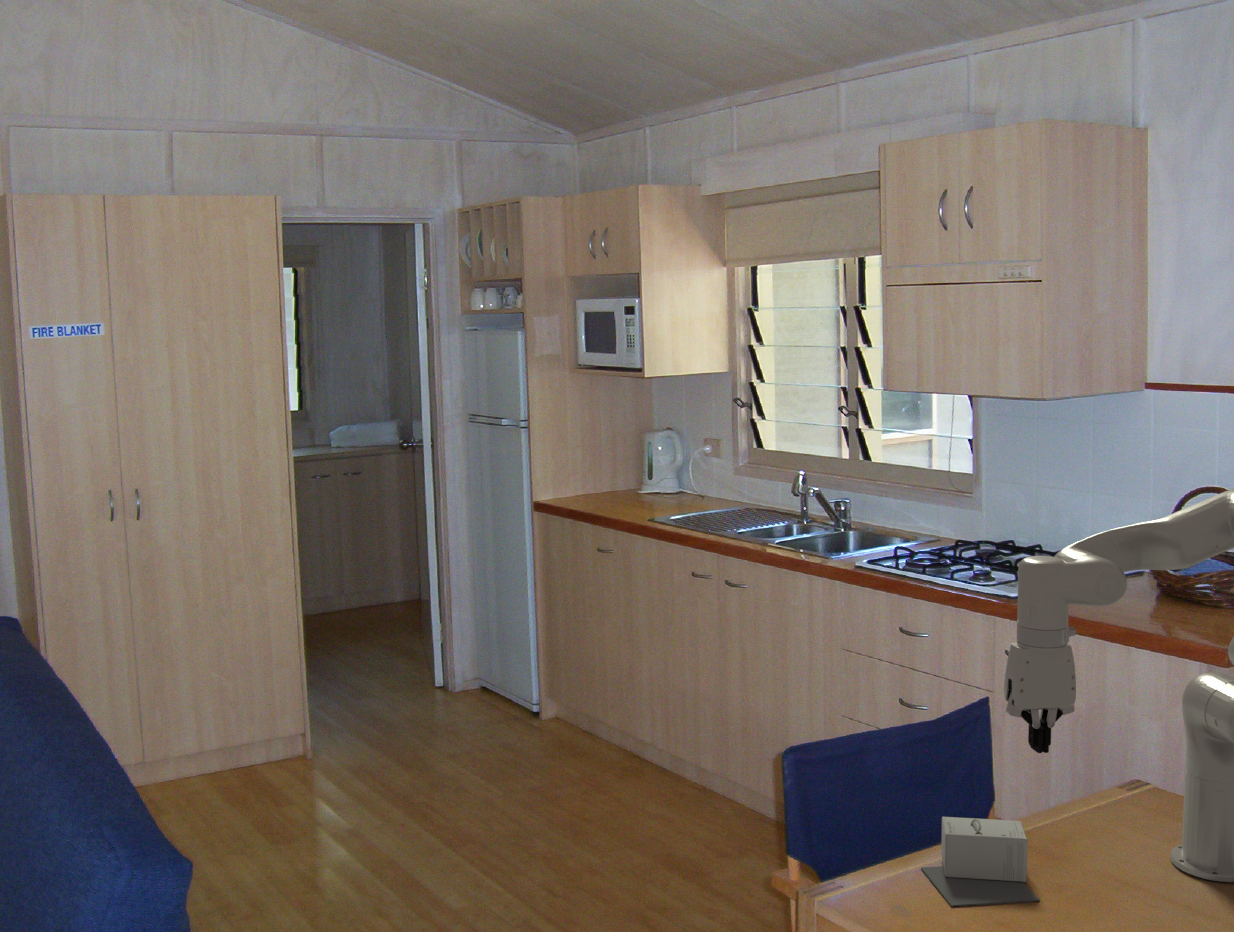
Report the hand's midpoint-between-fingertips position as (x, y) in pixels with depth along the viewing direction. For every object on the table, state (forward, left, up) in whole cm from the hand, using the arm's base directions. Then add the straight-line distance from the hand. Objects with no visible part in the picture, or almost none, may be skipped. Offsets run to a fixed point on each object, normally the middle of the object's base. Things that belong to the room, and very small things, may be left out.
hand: (1039, 750), depth 194 cm
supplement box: (+1, -1, -17) cm, 17 cm away
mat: (+10, +2, -21) cm, 23 cm away
